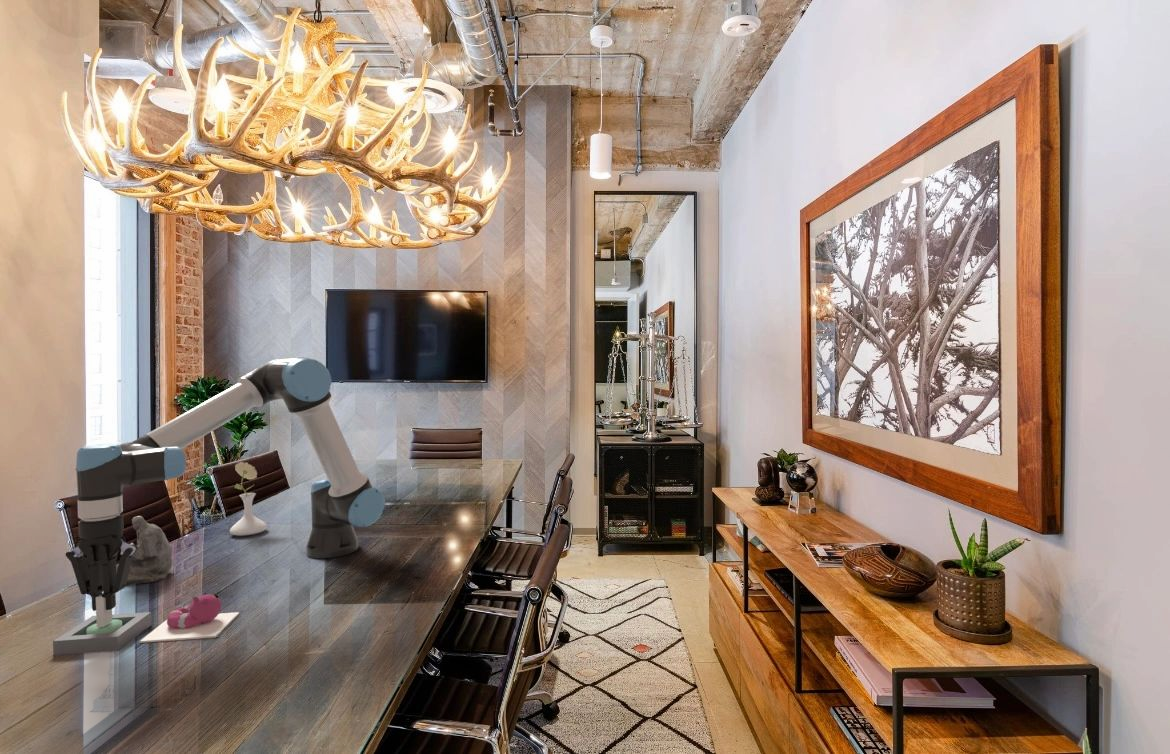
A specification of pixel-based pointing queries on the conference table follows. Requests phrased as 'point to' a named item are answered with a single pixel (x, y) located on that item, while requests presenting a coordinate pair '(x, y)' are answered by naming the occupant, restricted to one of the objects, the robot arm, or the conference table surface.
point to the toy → (195, 612)
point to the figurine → (149, 554)
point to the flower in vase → (247, 505)
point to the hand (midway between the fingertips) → (104, 624)
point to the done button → (105, 628)
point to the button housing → (101, 635)
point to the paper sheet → (191, 630)
